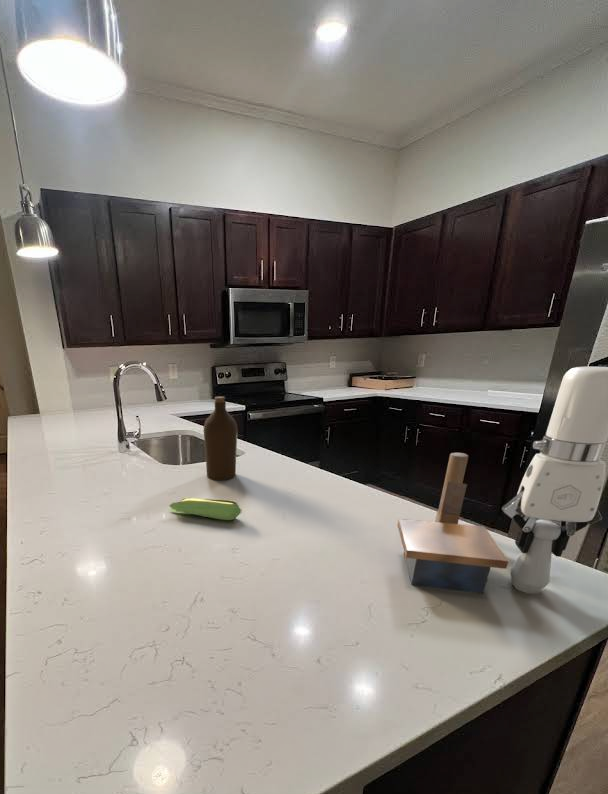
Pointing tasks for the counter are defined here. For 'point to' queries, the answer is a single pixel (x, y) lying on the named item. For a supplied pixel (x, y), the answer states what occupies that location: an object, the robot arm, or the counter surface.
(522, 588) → the salt shaker
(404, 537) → the stand
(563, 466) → the robot arm
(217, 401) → the olive oil
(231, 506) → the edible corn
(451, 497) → the wooden block
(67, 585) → the counter surface
